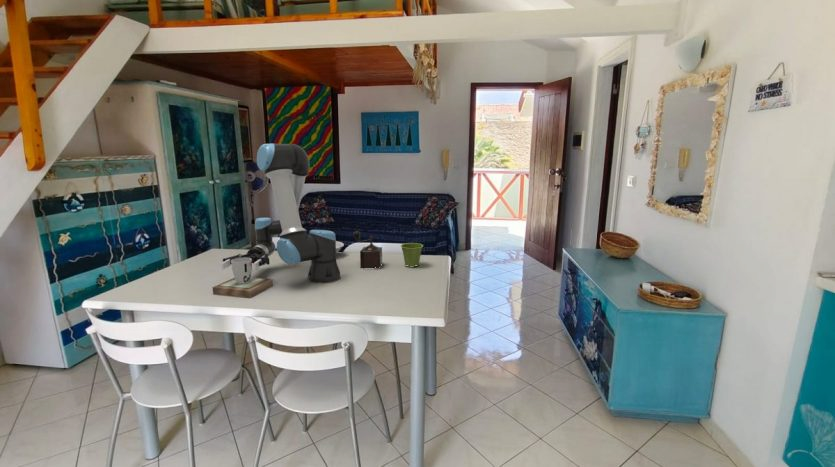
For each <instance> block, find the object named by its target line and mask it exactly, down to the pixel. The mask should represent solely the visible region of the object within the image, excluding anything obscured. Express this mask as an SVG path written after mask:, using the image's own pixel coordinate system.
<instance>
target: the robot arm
mask: <svg viewBox="0 0 835 467" xmlns="http://www.w3.org/2000/svg"><path fill="white" fill-rule="evenodd" d="M256 165H257V168H258V169H259V170H260V171H262V172H264V174H265V177H266V178H268V179H269V180H270V185H271V189H272V193H273V194H272V195H273V196H274V202H275V206H276V210H277V215H278V219H277V220H276V219H275V220H272V218H270V217H259V218H258V217H257V218H255V220H254V230H255V238H256V239H255V241H256V242H255V243H256V245H255V246H253V247H251V248H250V249H249V250H248V251H247V253H245V254H241V253H238V254H236V255H233V256H229V257H226V258H224V257H223V258H222V262H221V264H220V265H221V270H225V269H226V268H229V267H230V266H232V264H231V260H233V259H236V258H251V259H252V264H253V270H258V269H259V268H260V267H262V266H265V265H270V256H271V255H272V254H274V252H275V251H276V252H277V254H278V256H279V258H280V259H281V261H282V262H283V263H285V264H287V265H294V264H295V265H296V264H299V263H304V262H308V261H310V266H309V270H308V273H307V280H308V281H309V282H312V283H316V284H318V283H319V284H321V283H324V284H325V283H331V282H332V283H333V282H336V281H338V280H340V279H341V271H340V268H339V265H338V263H337V253H336V241H337V240H336V233H335V232H334V231H331V230H326V229H311V230H309V234H308V231H307V229H306V228H303V226H302V221H301V218H300V213H299V212H300V211H299V208H300V204H301V199H302V196H303V191H304V186H305V181H306V177H308V176H309V175H310V174H309V173H310V169H311V168H310V167H311V166H310V165H311V164H310V159H309V156H308V154H307V152H306V151H305V150H304V149H303V147H301V146H300V145H298V144H295V143H271V142H270V143H263V144H262V145H260V147H259V148H258V150H257V152H256ZM275 236H279V239H278V240H277V242H276V244H275V243H274V241H273V237H275Z"/></svg>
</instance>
